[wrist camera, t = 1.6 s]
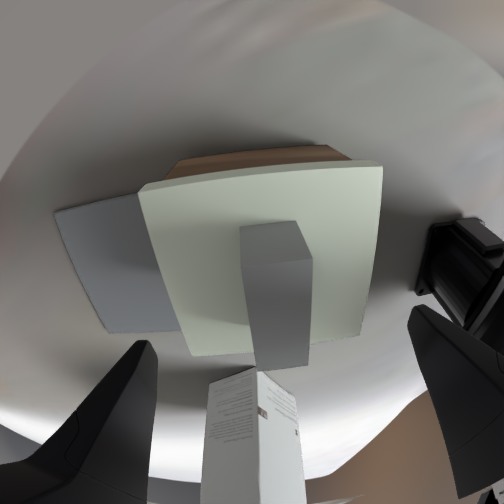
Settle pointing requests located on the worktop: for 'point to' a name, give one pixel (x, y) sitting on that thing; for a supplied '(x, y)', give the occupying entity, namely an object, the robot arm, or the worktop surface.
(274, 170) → the lid
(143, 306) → the mat
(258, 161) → the box
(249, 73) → the worktop surface
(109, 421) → the robot arm
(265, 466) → the skincare box
